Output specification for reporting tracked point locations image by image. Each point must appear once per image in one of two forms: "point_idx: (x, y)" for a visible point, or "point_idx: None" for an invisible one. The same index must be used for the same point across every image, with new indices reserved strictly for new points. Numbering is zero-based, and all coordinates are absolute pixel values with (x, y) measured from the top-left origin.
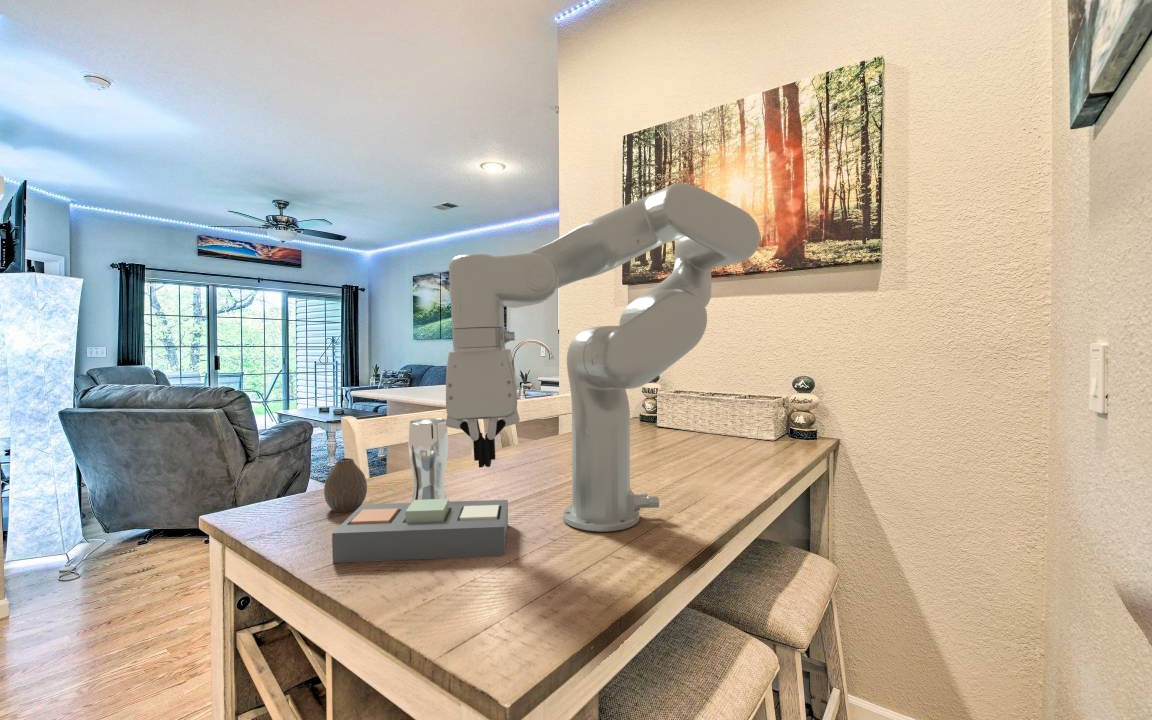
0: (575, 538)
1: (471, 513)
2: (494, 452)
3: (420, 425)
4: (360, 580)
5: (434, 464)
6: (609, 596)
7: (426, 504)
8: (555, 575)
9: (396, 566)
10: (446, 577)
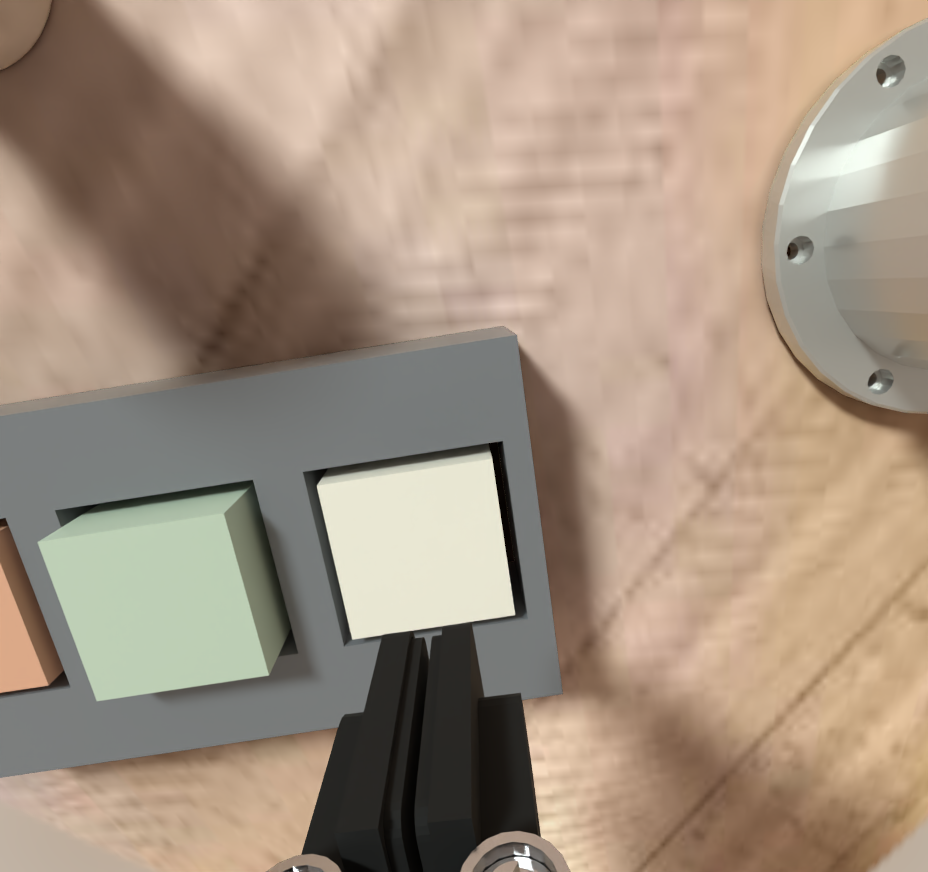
0: (795, 464)
1: (387, 585)
2: (536, 806)
3: None
4: (160, 794)
5: None
6: (848, 822)
7: (147, 608)
8: (714, 734)
9: None
10: None
